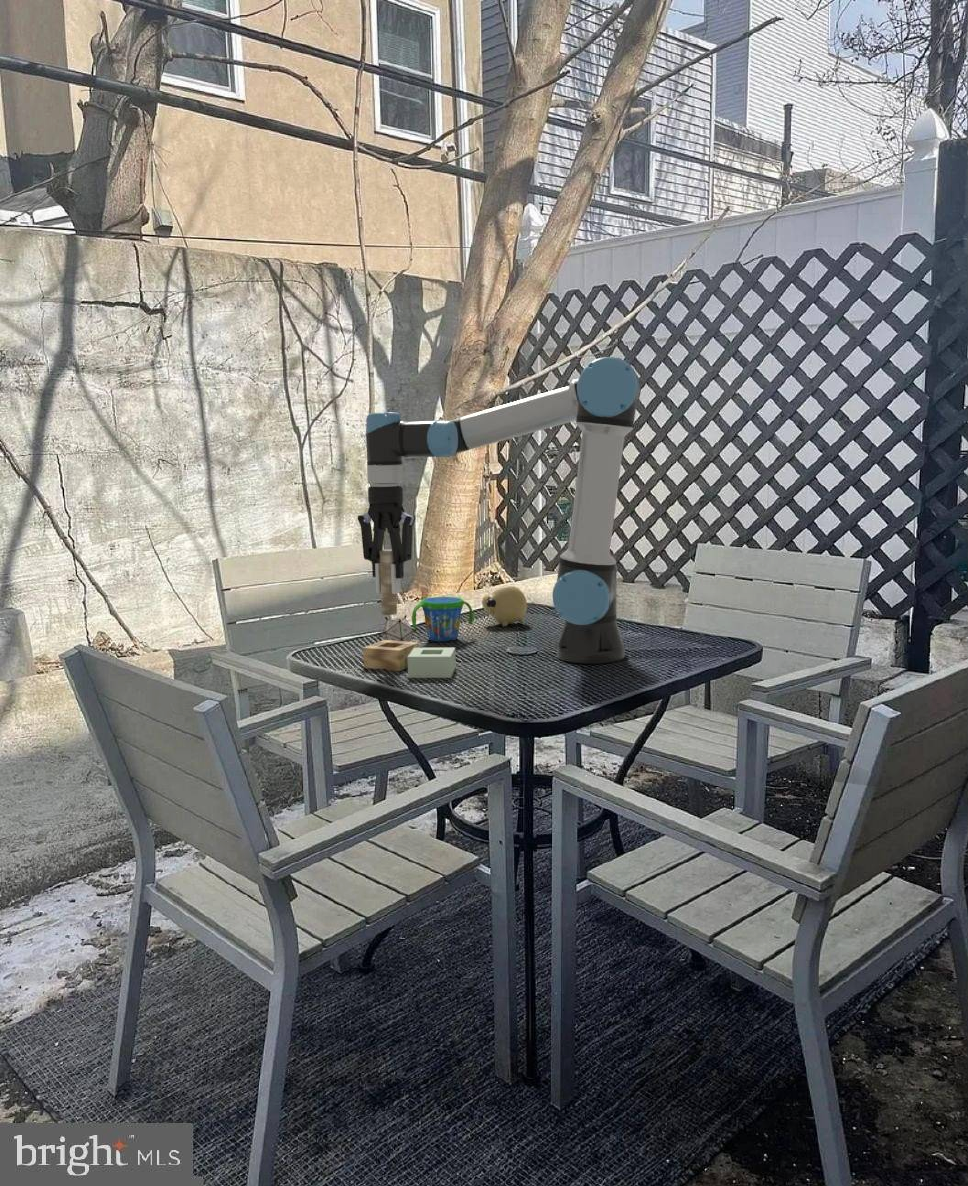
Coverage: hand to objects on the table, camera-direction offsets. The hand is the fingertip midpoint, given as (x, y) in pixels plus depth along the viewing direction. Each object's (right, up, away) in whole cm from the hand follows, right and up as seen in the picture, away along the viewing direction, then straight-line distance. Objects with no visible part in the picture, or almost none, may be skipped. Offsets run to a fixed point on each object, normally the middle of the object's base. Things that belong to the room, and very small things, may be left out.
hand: (388, 592), depth 203 cm
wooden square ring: (+1, -16, +2) cm, 16 cm away
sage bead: (+10, -17, -6) cm, 21 cm away
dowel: (0, -5, +1) cm, 5 cm away
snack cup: (+11, -12, +29) cm, 33 cm away
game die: (0, -14, +19) cm, 23 cm away
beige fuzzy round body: (+27, -9, +47) cm, 55 cm away
